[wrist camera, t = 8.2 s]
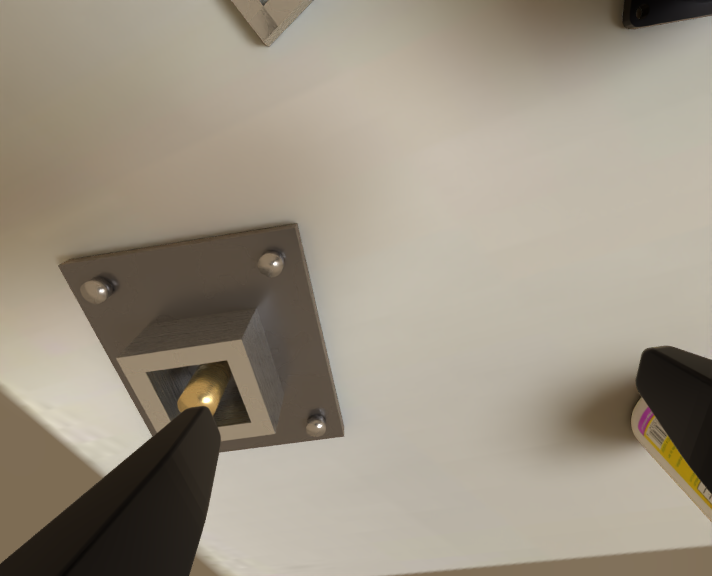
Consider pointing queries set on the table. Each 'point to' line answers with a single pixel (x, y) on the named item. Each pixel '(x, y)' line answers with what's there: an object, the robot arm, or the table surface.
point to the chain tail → (270, 16)
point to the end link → (199, 346)
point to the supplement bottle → (669, 456)
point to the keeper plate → (214, 296)
